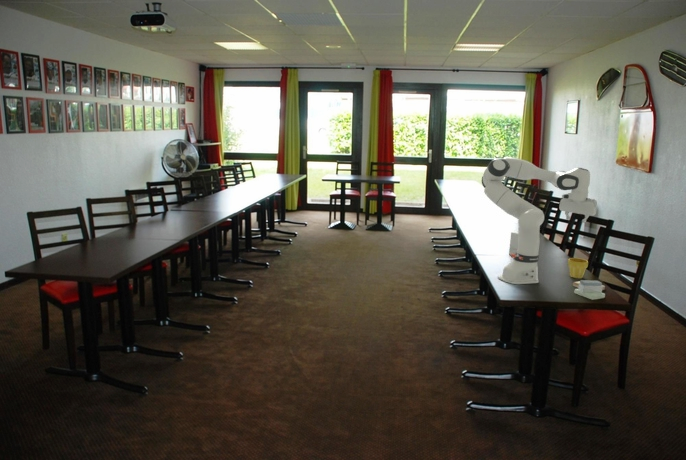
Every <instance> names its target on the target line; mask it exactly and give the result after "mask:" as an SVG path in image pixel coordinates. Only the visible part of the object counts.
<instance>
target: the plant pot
mask: <svg viewBox="0 0 686 460" xmlns="http://www.w3.org/2000/svg"><path fill="white" fill-rule="evenodd" d="M567 260H568V261H567V265H568V268H569V276H570V278H574V279H582V278H584V276H585V275H584V274H585V271H586V269H587V268H588V266H589V261H588V260H586V259H585V258H577V257H570V258H568V259H567Z"/></svg>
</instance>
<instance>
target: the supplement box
mask: <svg viewBox="0 0 686 460" xmlns="http://www.w3.org/2000/svg"><path fill="white" fill-rule="evenodd" d="M518 238H519V235H518V230H512V231H511V232H510V239H509V240H510V241H509V242H510V243H509V251H508V255H509V256H511V254H516V252H517V248H518Z"/></svg>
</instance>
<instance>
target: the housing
mask: <svg viewBox="0 0 686 460" xmlns="http://www.w3.org/2000/svg"><path fill="white" fill-rule="evenodd" d="M579 281H580V283H579V287H577V289H578V290H579V291H581V292H582V293H603V290H602V287H603V286H604V285H603V283H602V282H601V281H599V280H589V279H586V280H584V279H579ZM602 285H603V286H602Z"/></svg>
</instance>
